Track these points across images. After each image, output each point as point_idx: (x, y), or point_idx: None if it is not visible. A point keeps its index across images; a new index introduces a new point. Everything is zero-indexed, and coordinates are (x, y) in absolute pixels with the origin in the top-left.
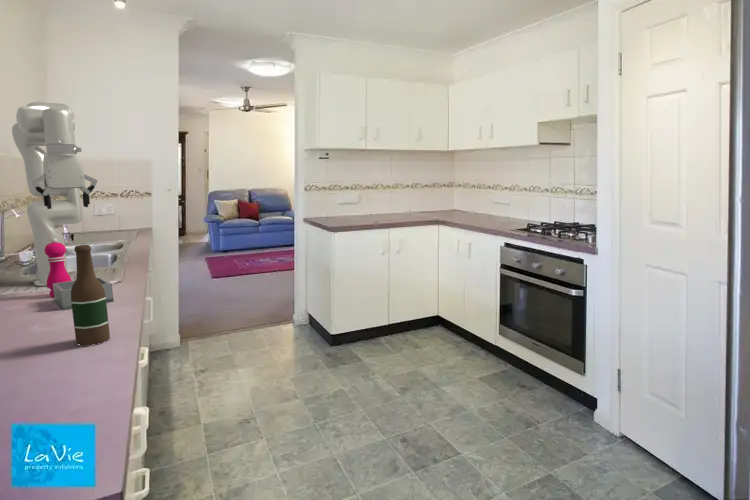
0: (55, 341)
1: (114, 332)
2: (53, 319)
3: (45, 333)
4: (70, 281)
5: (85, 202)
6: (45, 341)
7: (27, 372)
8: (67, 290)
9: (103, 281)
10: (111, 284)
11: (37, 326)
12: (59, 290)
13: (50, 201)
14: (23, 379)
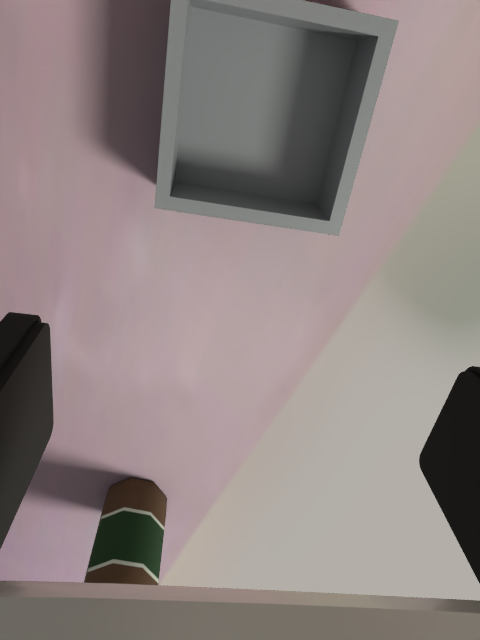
0: (78, 454)
1: (185, 480)
2: (111, 281)
3: (70, 390)
4: (252, 3)
5: (442, 507)
6: (62, 441)
7: (17, 550)
8: (177, 210)
9: (347, 149)
10: (336, 234)
11: (63, 317)
12: (157, 172)
13: (14, 505)
14: (11, 567)
